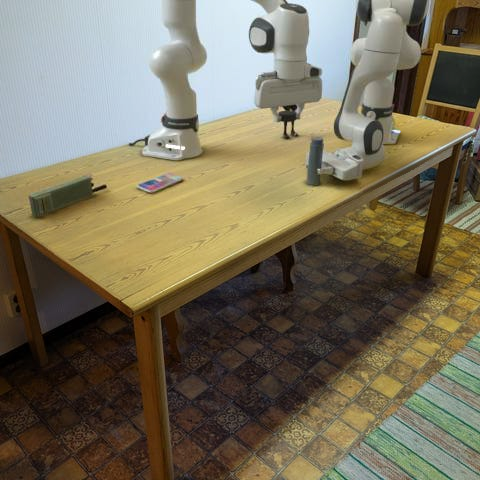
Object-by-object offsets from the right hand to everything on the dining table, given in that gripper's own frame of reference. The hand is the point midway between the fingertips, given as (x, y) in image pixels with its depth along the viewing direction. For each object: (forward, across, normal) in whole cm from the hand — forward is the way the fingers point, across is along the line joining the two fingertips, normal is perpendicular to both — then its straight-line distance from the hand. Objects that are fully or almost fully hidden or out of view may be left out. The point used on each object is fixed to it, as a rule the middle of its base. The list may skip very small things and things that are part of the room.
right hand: (312, 168), depth 164 cm
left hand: (+15, +5, -19) cm, 25 cm away
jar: (-1, 0, +5) cm, 5 cm away
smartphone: (+43, -24, +5) cm, 50 cm away
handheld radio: (+71, -24, +5) cm, 76 cm away
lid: (+15, +5, -21) cm, 26 cm away
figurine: (-23, -44, +5) cm, 50 cm away
